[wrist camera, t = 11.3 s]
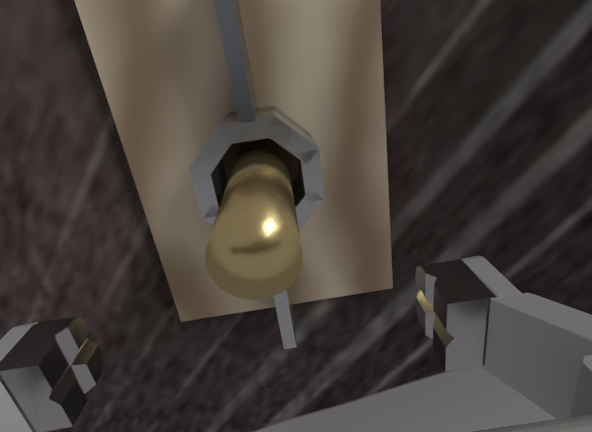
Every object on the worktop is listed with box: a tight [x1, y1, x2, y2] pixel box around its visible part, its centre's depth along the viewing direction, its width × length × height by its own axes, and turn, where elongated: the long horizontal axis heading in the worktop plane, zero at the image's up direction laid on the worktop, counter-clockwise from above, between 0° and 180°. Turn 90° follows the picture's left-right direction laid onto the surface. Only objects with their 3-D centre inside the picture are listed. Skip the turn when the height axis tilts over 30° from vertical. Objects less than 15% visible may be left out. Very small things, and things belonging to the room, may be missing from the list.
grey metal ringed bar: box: [189, 0, 325, 349], centre depth 21 cm, size 7×22×4 cm, turn 8°
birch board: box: [74, 0, 393, 322], centre depth 24 cm, size 16×22×2 cm
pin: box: [205, 138, 303, 300], centre depth 18 cm, size 3×3×12 cm
